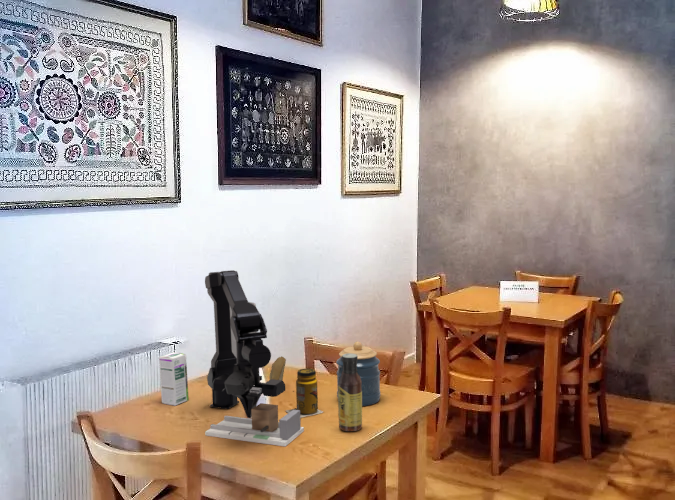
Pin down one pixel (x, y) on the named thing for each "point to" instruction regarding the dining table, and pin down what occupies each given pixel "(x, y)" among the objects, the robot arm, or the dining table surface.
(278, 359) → the rock
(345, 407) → the sauce bottle
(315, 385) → the condiment
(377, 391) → the canister
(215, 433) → the gauge base
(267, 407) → the brown cardboard cube
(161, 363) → the syrup box
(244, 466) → the dining table surface
